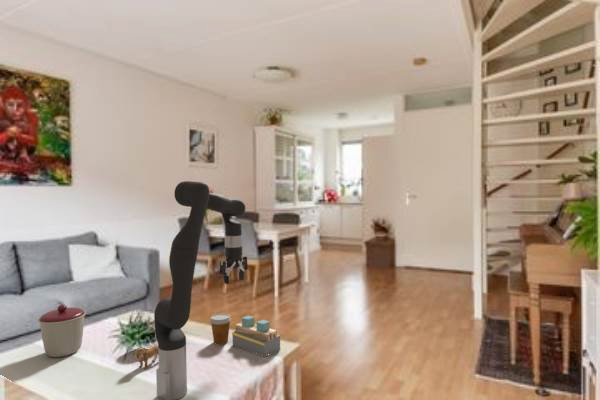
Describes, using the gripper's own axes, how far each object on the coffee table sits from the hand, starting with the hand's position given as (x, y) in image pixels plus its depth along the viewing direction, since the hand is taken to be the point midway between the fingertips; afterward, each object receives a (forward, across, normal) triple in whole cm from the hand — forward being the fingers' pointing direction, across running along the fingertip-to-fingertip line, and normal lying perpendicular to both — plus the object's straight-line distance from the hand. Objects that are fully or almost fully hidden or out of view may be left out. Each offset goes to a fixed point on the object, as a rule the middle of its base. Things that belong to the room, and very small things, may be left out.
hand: (234, 281), depth 169 cm
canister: (+30, -48, +58) cm, 81 cm away
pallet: (+24, +7, -6) cm, 26 cm away
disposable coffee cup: (+30, +1, +11) cm, 32 cm away
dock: (+30, +7, -6) cm, 31 cm away
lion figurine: (+30, -31, +16) cm, 47 cm away
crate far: (+21, +7, -1) cm, 22 cm away
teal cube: (+21, +7, -11) cm, 25 cm away
